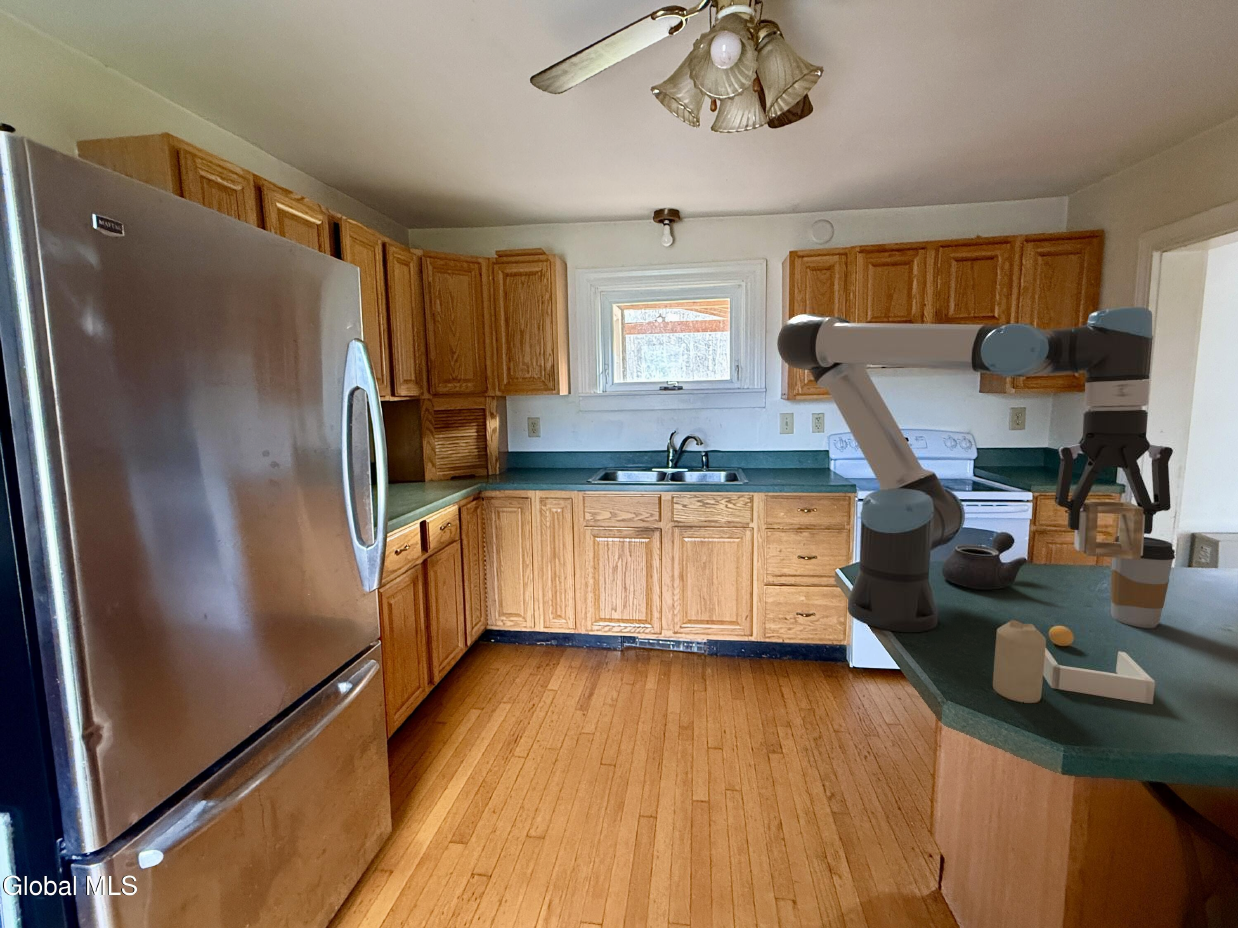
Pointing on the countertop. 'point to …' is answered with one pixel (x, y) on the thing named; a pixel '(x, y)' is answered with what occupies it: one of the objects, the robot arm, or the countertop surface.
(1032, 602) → the countertop surface
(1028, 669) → the candle
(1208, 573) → the countertop surface
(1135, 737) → the countertop surface
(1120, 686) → the white u-shaped corral
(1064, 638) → the ball
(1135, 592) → the coffee cup
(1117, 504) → the wooden cage
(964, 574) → the teapot
